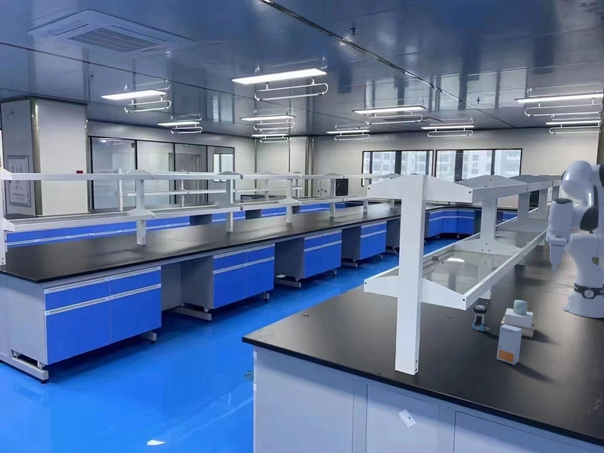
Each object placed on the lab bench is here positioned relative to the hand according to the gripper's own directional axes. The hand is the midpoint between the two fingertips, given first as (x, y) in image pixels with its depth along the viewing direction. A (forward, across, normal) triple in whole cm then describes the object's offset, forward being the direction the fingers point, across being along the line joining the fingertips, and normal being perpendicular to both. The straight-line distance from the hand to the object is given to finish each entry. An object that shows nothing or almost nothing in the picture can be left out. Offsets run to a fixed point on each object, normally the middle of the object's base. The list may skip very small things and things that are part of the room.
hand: (554, 270), depth 186 cm
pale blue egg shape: (+18, +10, -11) cm, 23 cm away
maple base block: (+26, +10, -11) cm, 30 cm away
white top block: (+22, +10, -11) cm, 27 cm away
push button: (+25, +20, -24) cm, 40 cm away
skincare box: (+24, +48, -11) cm, 55 cm away
